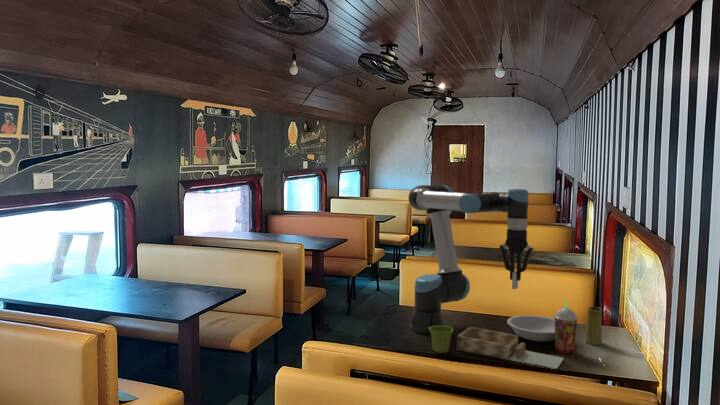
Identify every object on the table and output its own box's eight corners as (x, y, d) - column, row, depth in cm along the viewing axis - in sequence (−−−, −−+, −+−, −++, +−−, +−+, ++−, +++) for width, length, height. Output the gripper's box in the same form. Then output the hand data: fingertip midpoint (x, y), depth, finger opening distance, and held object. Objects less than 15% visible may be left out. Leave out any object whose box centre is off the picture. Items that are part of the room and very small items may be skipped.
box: (456, 349, 204) (456, 335, 204) (469, 339, 216) (469, 326, 216) (507, 360, 194) (507, 345, 193) (517, 349, 205) (518, 335, 205)
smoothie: (549, 347, 207) (551, 298, 206) (569, 347, 208) (571, 298, 207) (559, 355, 199) (561, 304, 198) (580, 354, 200) (582, 303, 198)
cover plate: (508, 361, 194) (509, 349, 194) (517, 352, 204) (518, 340, 204) (556, 371, 185) (557, 358, 185) (563, 361, 195) (564, 348, 195)
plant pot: (434, 344, 210) (434, 323, 210) (456, 349, 205) (456, 327, 205) (424, 351, 202) (425, 330, 201) (447, 356, 197) (448, 334, 197)
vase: (600, 341, 216) (602, 307, 214) (602, 346, 210) (603, 311, 209) (584, 339, 218) (586, 306, 216) (586, 344, 212) (587, 309, 211)
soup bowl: (572, 351, 204) (573, 334, 204) (509, 346, 209) (509, 330, 208) (561, 331, 228) (561, 317, 227) (504, 328, 232) (505, 313, 232)
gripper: (497, 228, 203) (495, 287, 204) (531, 231, 196) (529, 292, 197) (503, 226, 209) (501, 284, 211) (536, 229, 202) (534, 288, 204)
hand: (514, 288), depth 204 cm, fingers closed
